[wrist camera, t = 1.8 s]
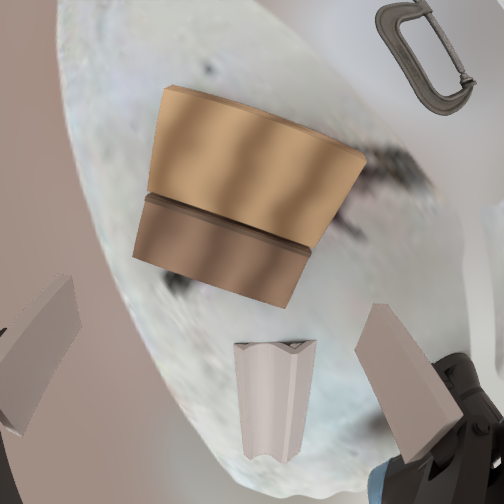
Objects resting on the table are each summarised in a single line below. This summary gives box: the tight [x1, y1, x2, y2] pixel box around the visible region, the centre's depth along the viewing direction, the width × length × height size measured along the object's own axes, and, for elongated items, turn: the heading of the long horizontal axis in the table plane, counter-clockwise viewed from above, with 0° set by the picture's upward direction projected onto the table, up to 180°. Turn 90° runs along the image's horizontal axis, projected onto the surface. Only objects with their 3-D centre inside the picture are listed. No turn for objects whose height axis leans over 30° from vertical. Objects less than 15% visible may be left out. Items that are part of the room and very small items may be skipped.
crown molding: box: [234, 340, 316, 464], centre depth 44 cm, size 31×12×4 cm, turn 2°
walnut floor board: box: [132, 192, 311, 309], centre depth 34 cm, size 20×8×2 cm, turn 70°
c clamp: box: [375, 0, 477, 116], centre depth 25 cm, size 20×17×3 cm
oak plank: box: [147, 85, 367, 248], centre depth 28 cm, size 20×12×2 cm, turn 70°
